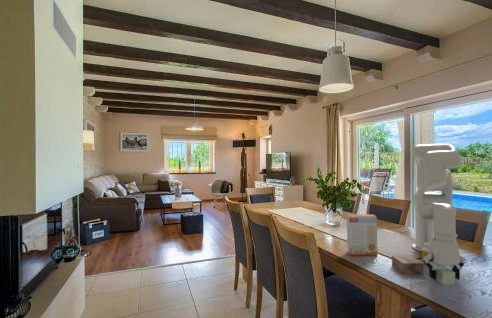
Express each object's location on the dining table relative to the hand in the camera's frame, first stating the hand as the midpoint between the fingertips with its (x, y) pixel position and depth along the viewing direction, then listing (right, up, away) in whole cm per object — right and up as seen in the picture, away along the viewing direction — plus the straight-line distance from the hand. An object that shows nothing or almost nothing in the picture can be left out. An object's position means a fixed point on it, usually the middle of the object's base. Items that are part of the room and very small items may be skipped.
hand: (444, 278), depth 109 cm
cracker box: (-20, -2, +32) cm, 38 cm away
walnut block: (-8, -2, +12) cm, 15 cm away
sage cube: (0, -2, 0) cm, 2 cm away
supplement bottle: (+6, -1, +18) cm, 19 cm away
